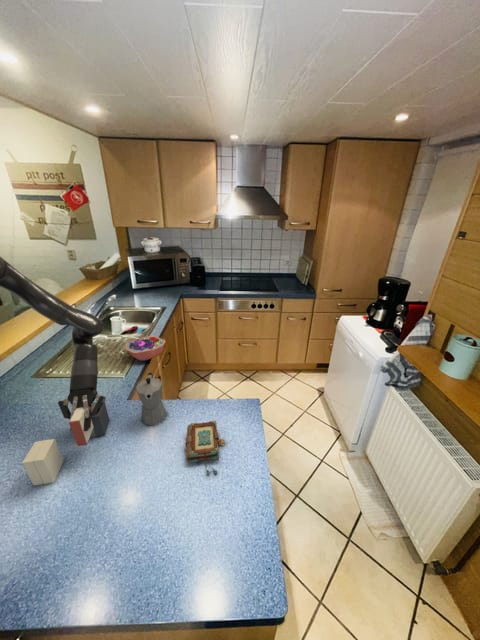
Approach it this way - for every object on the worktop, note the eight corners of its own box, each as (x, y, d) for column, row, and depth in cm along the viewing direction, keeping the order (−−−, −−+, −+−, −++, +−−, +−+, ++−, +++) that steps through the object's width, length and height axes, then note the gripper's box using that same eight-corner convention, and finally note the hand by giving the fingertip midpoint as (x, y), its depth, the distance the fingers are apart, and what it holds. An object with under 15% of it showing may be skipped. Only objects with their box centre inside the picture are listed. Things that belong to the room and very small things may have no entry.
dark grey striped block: (79, 439, 88) (72, 417, 84) (86, 423, 94) (80, 403, 90) (104, 435, 89) (98, 414, 85) (109, 420, 96) (104, 400, 91)
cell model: (166, 363, 131) (164, 344, 126) (125, 368, 126) (121, 348, 121) (167, 347, 146) (165, 329, 141) (130, 350, 141) (126, 333, 136)
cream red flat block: (77, 446, 77) (68, 423, 73) (85, 428, 84) (77, 405, 79) (86, 445, 78) (78, 421, 74) (93, 427, 84) (86, 404, 80)
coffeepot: (167, 426, 93) (161, 388, 86) (140, 432, 91) (132, 393, 83) (166, 398, 107) (161, 363, 99) (143, 402, 104) (136, 367, 97)
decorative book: (185, 478, 76) (183, 467, 74) (187, 431, 92) (186, 421, 89) (228, 472, 78) (228, 461, 76) (223, 427, 94) (223, 417, 91)
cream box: (33, 485, 73) (21, 462, 69) (45, 463, 79) (35, 441, 75) (53, 482, 74) (43, 459, 70) (63, 460, 80) (54, 438, 76)
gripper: (54, 376, 78) (48, 436, 72) (103, 371, 81) (100, 429, 75) (66, 379, 85) (61, 434, 79) (110, 374, 88) (108, 427, 82)
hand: (80, 431), depth 77 cm, fingers closed on cream red flat block, 2 cm apart
